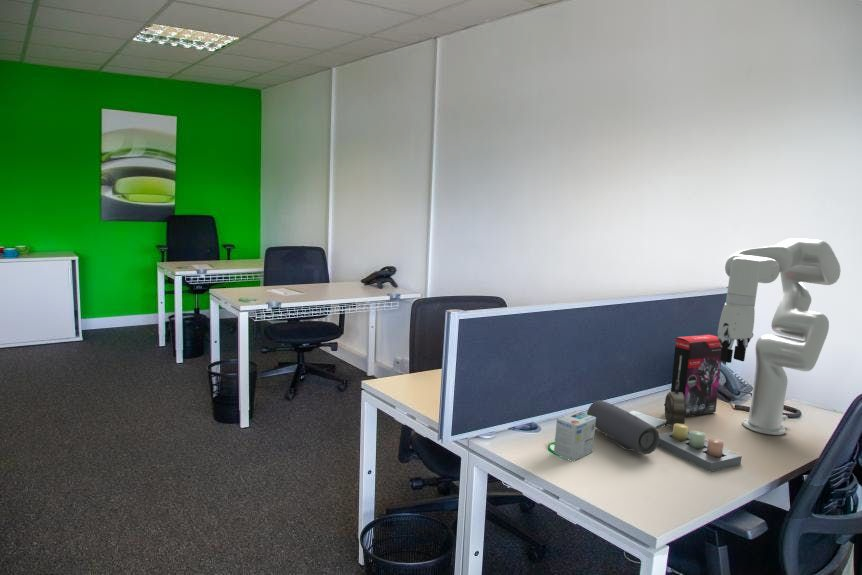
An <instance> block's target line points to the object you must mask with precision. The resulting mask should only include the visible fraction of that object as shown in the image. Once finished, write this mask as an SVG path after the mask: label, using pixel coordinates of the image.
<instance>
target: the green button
mask: <svg viewBox="0 0 862 575" xmlns="http://www.w3.org/2000/svg"><path fill="white" fill-rule="evenodd" d="M689 433H690V440H689V446H691V447H693V448H695V449H703V448H704V442H705V440H706V433H704V432H702V431H699V430H691V431H690V432H689Z"/></svg>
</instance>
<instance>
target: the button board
mask: <svg viewBox="0 0 862 575" xmlns="http://www.w3.org/2000/svg"><path fill="white" fill-rule="evenodd" d="M672 435H673V431H671V432H664V433H660V434H659V438H660V440H659V444H658V446H657V447H660V448H661V449H663V450H664V451H666V452H669V453H671V454H674V455H676V456H678V457H680V458H681V459H683V458H684V460H685V459H686V461H687V460H688V461H687V462H689V461H690V463H691V462H692V463H691V464H693V463H694V464H693V465H695V464H696V466H697V465H698V467H699V466H700V468H701V467H702V468H701V469H703V468H704V469H703V470H705V469H706V470H705V471H707V470H708V471H707V472H709V471H711V472H715V471H714V470H716V471H719V470H718V469H720V470H723V468H724V469H727V467H728V468H731V467H736V466H740V465H741V464H742V457H743V456H742V455H740V454H738V453H736V452H734V451H732V450H729V449H727V448H726V447H723V452H722V457H720V458H715V457H712V456H710V455H708V454H706V453H707V445H708V439H705V442H704V448H703V449H695V448H693V447H691V446H689V440H690V432H687V440H686V441H678V440H676V439H674V438H672Z"/></svg>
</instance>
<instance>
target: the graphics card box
mask: <svg viewBox="0 0 862 575" xmlns="http://www.w3.org/2000/svg"><path fill="white" fill-rule="evenodd" d="M717 337H718V336H716V335H712V334H701V335H690V336H689V335H688V336H677V337H676V338H675V345H674V346H675V347H674V353H673V354H674V355H673V356H674V357H673V358H674V359H673V366H672V376H671V387H670V392H675V391H676V390H675V389H676V386H677V388H678V381H677V380H679V390H678V392H682V393H683V394H684V397H685V403H686V417H685V418H688V417H693V416H694V417H695V416H700V415H706V414H713V413H715V412H716V411H717V402H718V401H717V400H718V396H719V395H718V394H719V385H720V376H721V367H722V361H721V360H720V359H721V351H722V347H721V343H720V341H719V340H718V339H717ZM676 381H677V385H676Z"/></svg>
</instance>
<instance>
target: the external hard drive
mask: <svg viewBox="0 0 862 575" xmlns="http://www.w3.org/2000/svg"><path fill="white" fill-rule="evenodd" d="M628 412H629V413H631V414H633V415H634V416H636V417H638V418H640V419H641V420H643V421H645V422H647V423H648V424H650V425H651V426H653V427H654V428H656V429H657V430H658V429H660V428H662V426H663V427H665V426H664V425H666V423H667V422H666V420H665V419H661V418H657V417H655V416H652V415H648V414H645V413H643V412H639V411H636V410H630V411H628ZM666 426H667V425H666Z"/></svg>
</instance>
